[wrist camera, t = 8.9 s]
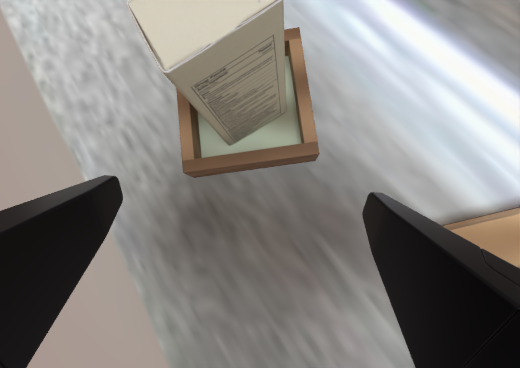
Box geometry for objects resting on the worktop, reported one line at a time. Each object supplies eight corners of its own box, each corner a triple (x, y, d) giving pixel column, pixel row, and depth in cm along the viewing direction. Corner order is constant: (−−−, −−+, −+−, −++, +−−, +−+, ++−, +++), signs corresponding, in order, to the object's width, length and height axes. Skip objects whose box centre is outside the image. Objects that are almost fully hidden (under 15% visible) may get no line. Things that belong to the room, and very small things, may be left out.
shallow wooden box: (633, 458, 18) (713, 513, 14) (457, 490, 18) (495, 549, 15) (529, 205, 20) (576, 202, 17) (379, 240, 21) (397, 245, 18)
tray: (315, 160, 22) (319, 153, 20) (193, 177, 23) (183, 172, 21) (297, 47, 24) (299, 27, 21) (184, 66, 25) (173, 49, 22)
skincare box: (263, 74, 23) (241, -78, 11) (288, 112, 23) (292, -7, 11) (203, 110, 24) (118, -3, 11) (226, 149, 23) (161, 73, 11)
